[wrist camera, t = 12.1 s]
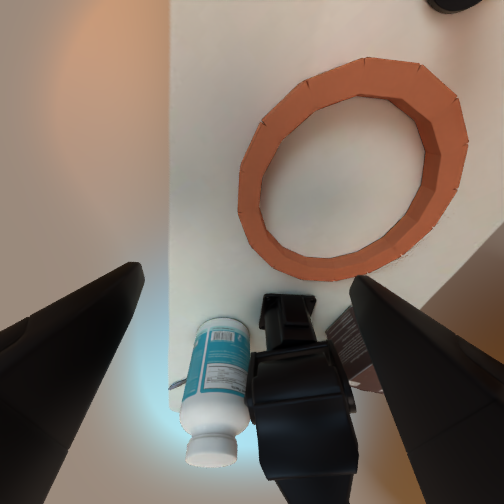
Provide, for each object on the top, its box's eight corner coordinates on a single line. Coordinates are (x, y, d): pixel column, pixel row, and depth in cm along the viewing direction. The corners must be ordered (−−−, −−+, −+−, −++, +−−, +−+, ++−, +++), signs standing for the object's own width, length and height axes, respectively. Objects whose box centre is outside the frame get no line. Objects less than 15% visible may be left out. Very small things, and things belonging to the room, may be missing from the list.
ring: (388, 274, 25) (397, 285, 23) (235, 265, 24) (234, 276, 22) (502, 79, 15) (530, 76, 13) (246, 48, 14) (246, 42, 12)
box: (386, 316, 29) (422, 371, 23) (357, 340, 32) (382, 395, 26) (349, 304, 28) (377, 360, 22) (323, 331, 31) (341, 386, 25)
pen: (224, 365, 35) (168, 391, 40) (225, 362, 35) (170, 388, 40) (221, 362, 34) (165, 389, 39) (222, 359, 35) (167, 386, 40)
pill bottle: (215, 351, 33) (198, 475, 22) (186, 324, 30) (149, 457, 19) (258, 338, 32) (264, 465, 21) (234, 308, 28) (225, 444, 17)
